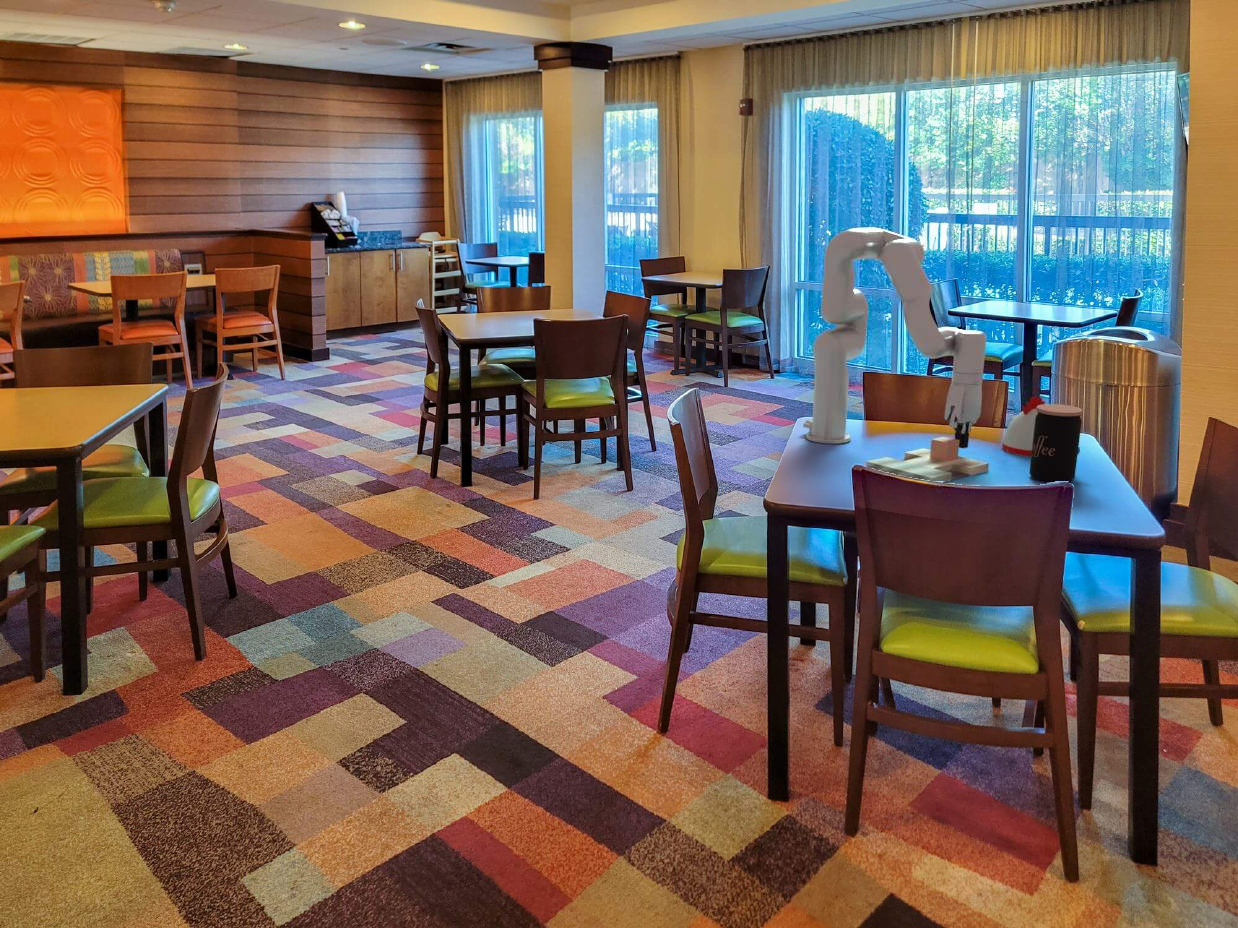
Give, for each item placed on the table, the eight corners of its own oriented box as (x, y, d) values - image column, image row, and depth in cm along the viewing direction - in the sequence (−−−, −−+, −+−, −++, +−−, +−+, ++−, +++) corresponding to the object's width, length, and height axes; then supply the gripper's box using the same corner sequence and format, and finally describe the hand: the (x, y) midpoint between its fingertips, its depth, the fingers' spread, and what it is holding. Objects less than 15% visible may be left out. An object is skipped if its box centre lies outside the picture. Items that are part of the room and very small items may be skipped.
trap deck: (865, 468, 271) (866, 461, 271) (922, 455, 286) (923, 448, 285) (931, 486, 256) (932, 478, 255) (988, 470, 270) (988, 463, 270)
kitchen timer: (1066, 452, 290) (1072, 399, 286) (1033, 458, 283) (1039, 404, 280) (1024, 442, 302) (1029, 391, 298) (991, 448, 295) (996, 395, 291)
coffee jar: (1021, 473, 268) (1028, 404, 264) (1061, 472, 269) (1069, 403, 265) (1040, 484, 258) (1049, 412, 253) (1082, 484, 259) (1091, 412, 254)
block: (929, 457, 275) (931, 439, 274) (941, 455, 278) (943, 436, 277) (946, 461, 271) (948, 442, 270) (957, 458, 274) (959, 440, 273)
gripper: (971, 373, 281) (964, 440, 286) (937, 379, 272) (931, 448, 277) (996, 377, 275) (989, 445, 280) (963, 383, 266) (956, 454, 271)
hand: (960, 446), depth 278 cm, fingers closed
